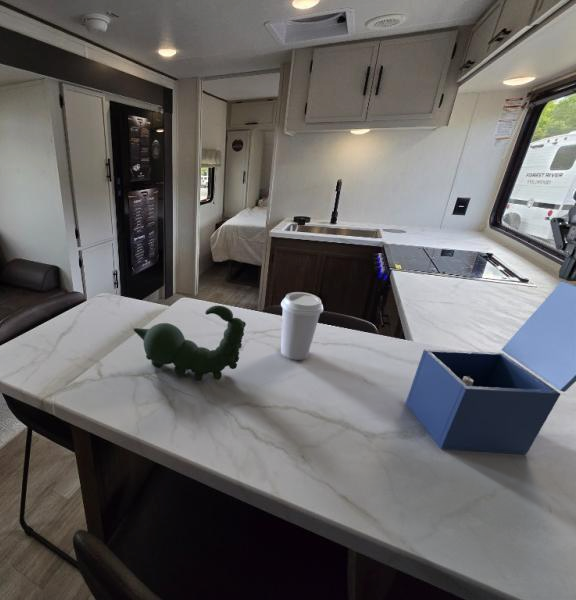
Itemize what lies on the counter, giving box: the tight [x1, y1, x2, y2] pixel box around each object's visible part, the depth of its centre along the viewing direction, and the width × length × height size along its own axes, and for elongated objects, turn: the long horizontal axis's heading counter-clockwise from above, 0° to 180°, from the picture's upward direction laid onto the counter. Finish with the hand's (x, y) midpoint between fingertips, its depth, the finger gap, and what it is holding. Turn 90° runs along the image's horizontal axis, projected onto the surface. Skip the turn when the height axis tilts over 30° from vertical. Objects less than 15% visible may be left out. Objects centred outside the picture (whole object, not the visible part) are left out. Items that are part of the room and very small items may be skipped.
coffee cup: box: [280, 291, 324, 361], centre depth 83 cm, size 10×10×15 cm
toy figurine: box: [133, 305, 247, 382], centre depth 76 cm, size 9×19×25 cm
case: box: [405, 349, 561, 455], centre depth 60 cm, size 14×12×13 cm
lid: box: [500, 280, 576, 393], centre depth 54 cm, size 14×12×1 cm
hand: (568, 279), depth 57 cm, fingers closed
